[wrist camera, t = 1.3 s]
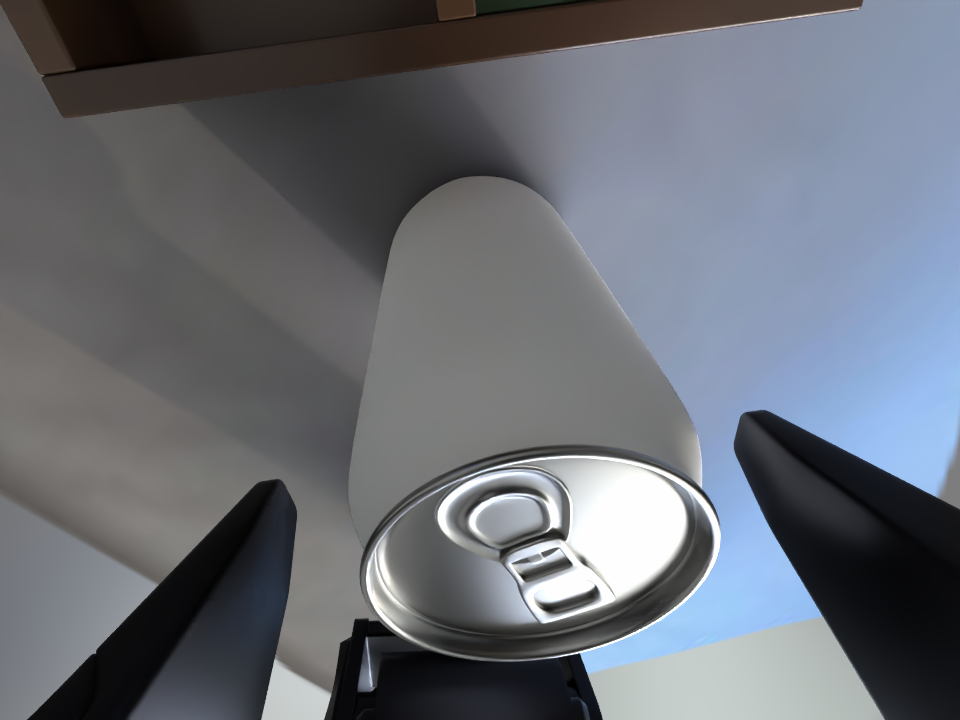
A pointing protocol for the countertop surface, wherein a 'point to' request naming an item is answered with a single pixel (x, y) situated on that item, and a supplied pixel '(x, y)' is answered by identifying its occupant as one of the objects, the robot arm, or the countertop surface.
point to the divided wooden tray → (328, 39)
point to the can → (518, 443)
